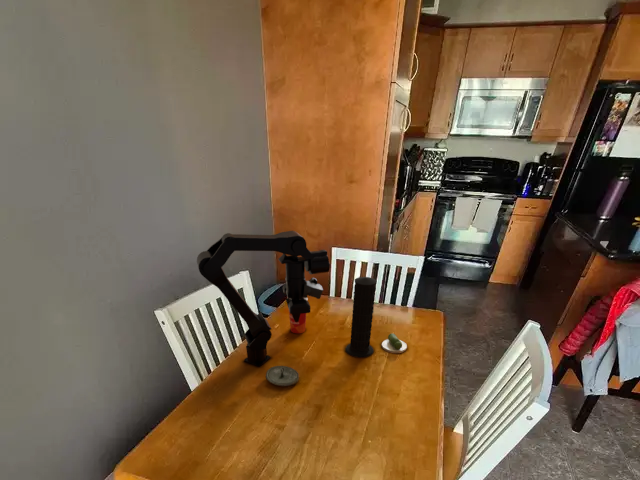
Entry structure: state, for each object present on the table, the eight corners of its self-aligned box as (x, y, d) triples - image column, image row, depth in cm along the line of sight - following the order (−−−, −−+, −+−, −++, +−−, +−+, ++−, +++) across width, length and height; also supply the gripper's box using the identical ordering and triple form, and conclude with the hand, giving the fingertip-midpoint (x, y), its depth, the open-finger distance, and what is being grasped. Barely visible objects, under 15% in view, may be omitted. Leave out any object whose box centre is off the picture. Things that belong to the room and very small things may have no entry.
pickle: (410, 351, 129) (412, 342, 127) (386, 354, 128) (387, 345, 126) (401, 339, 136) (402, 330, 134) (378, 341, 135) (379, 332, 133)
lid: (264, 378, 118) (259, 367, 114) (291, 364, 120) (287, 353, 116) (276, 397, 110) (272, 386, 107) (305, 382, 113) (301, 371, 109)
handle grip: (373, 358, 125) (373, 343, 134) (382, 284, 110) (381, 272, 118) (344, 356, 126) (346, 341, 134) (349, 282, 111) (350, 271, 119)
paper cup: (285, 327, 143) (283, 293, 135) (303, 323, 146) (302, 290, 137) (292, 336, 137) (291, 301, 129) (311, 332, 140) (311, 298, 132)
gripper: (327, 285, 106) (326, 333, 115) (315, 264, 121) (315, 308, 130) (289, 287, 104) (291, 336, 113) (281, 266, 119) (284, 310, 128)
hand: (296, 321), depth 121 cm, fingers closed
